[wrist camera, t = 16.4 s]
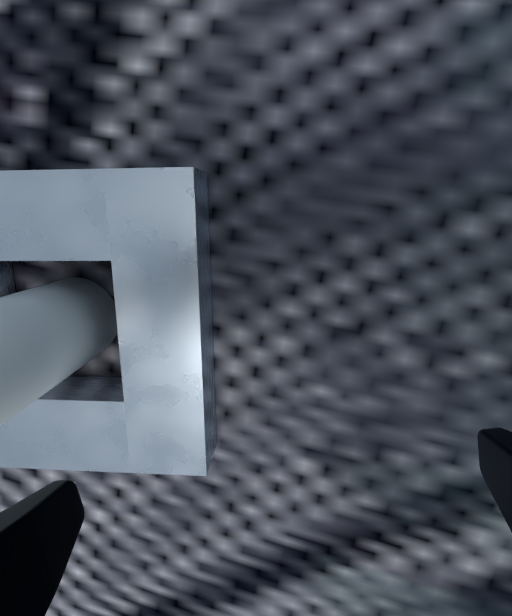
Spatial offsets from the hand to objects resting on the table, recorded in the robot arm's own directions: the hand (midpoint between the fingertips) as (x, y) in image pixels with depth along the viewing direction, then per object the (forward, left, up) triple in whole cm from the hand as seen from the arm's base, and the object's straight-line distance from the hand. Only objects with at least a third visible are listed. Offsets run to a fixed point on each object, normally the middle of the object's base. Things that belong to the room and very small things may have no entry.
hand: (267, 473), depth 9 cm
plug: (+11, -2, -13) cm, 17 cm away
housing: (+11, -2, -13) cm, 17 cm away
